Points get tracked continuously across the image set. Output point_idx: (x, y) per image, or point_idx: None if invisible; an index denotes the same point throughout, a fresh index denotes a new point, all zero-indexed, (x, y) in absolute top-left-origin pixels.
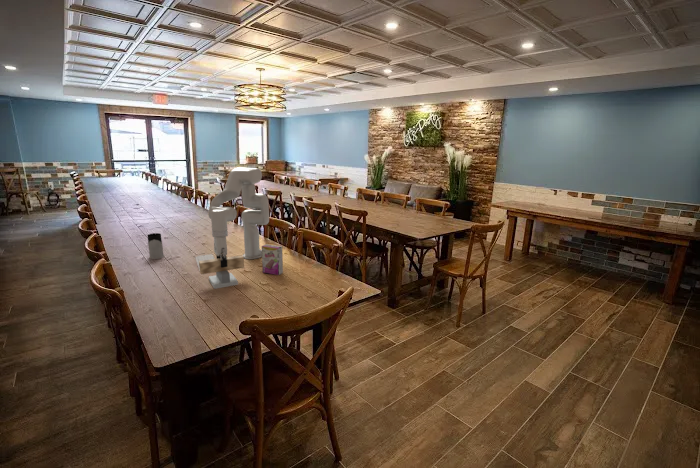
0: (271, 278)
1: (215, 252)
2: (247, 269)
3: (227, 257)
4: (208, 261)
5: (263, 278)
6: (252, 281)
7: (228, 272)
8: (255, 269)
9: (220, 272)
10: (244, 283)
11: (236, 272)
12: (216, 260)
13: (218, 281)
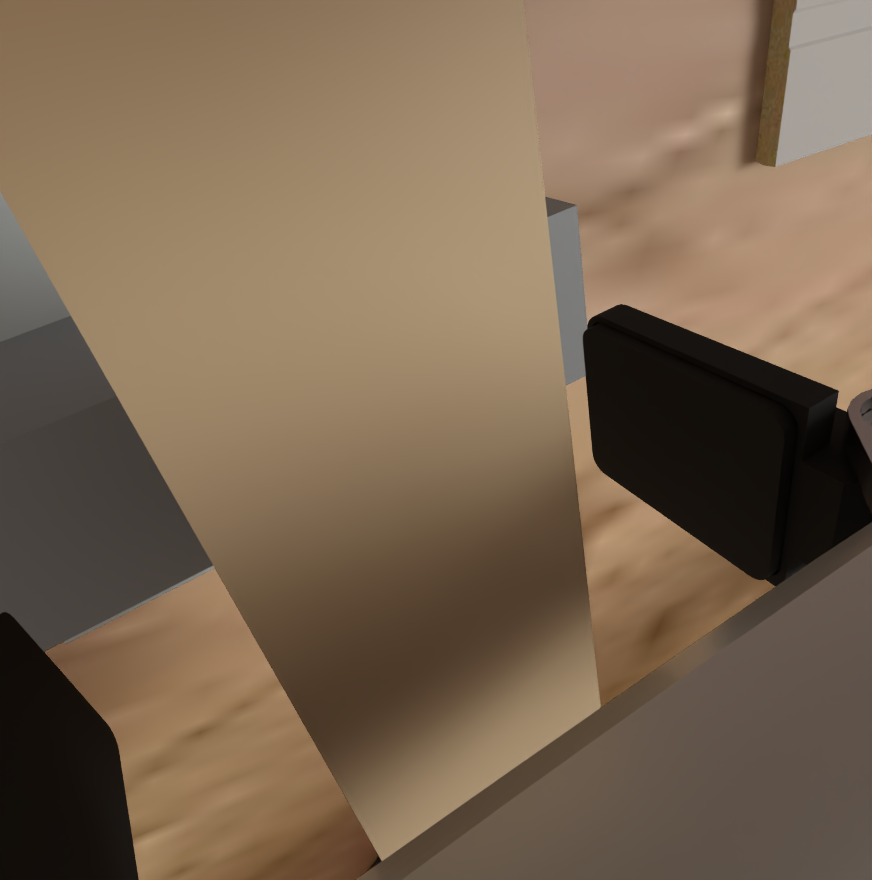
0: (279, 867)
1: (771, 772)
2: (629, 531)
3: (575, 718)
4: (128, 12)
5: (293, 797)
6: (196, 732)
7: (50, 640)
8: (598, 611)
9: (54, 436)
10: (114, 668)
11: (582, 431)
12: (304, 502)
13: (38, 277)
